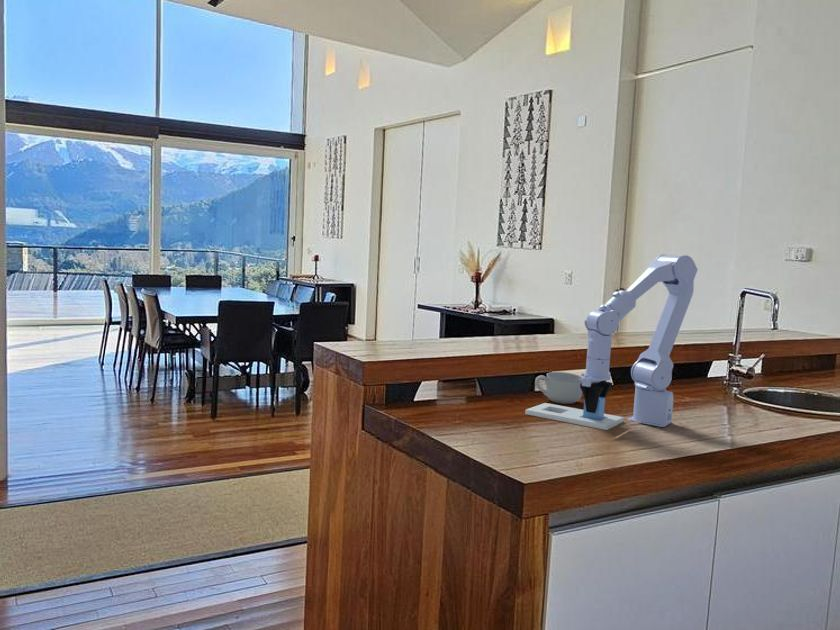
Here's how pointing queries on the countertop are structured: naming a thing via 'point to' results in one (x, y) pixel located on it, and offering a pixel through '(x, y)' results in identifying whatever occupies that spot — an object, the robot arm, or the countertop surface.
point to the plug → (599, 411)
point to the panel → (572, 416)
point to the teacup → (561, 387)
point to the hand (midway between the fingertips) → (594, 410)
